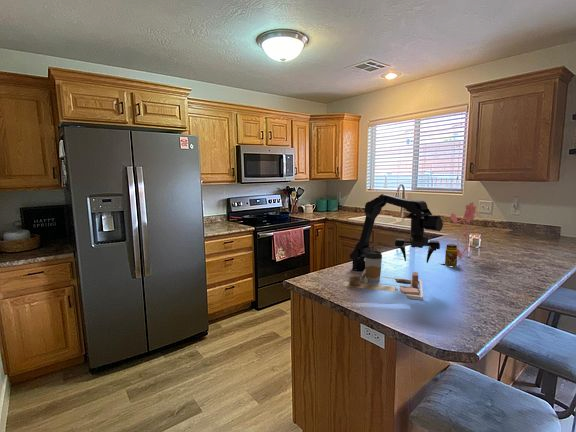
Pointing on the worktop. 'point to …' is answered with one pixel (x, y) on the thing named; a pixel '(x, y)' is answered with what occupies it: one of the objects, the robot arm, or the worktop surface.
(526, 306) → the worktop surface
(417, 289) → the lane tray
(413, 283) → the tan rectangular frame
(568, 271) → the worktop surface
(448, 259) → the condiment
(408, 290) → the reddish brown block
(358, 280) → the walnut cube
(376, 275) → the coffee cup
